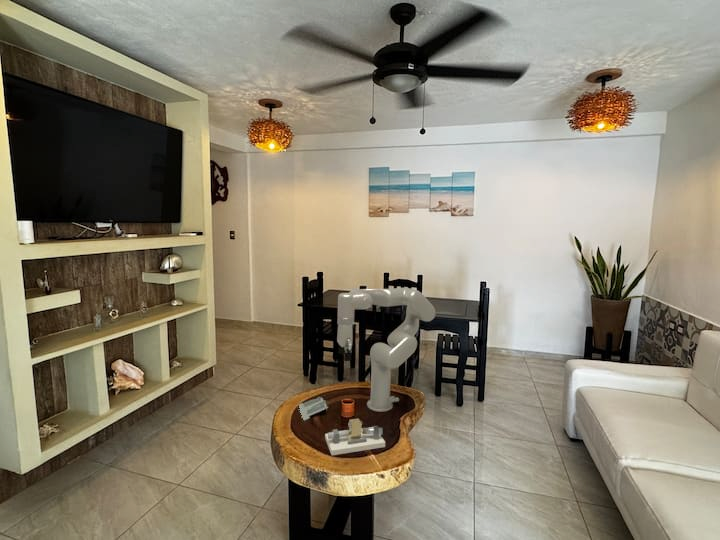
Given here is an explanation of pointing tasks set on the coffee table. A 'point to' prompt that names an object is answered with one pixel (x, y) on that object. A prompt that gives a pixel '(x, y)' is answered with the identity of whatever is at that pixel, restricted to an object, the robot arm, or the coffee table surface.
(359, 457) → the coffee table surface
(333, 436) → the shaft mount
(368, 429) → the left shaft
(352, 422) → the coupler
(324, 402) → the metal bracket
